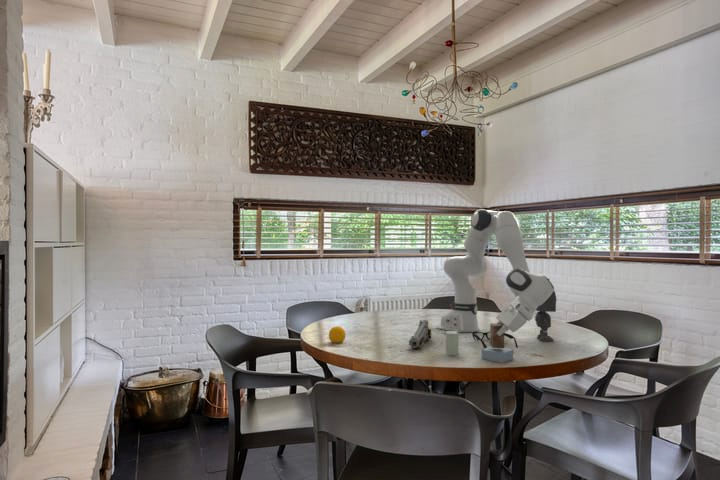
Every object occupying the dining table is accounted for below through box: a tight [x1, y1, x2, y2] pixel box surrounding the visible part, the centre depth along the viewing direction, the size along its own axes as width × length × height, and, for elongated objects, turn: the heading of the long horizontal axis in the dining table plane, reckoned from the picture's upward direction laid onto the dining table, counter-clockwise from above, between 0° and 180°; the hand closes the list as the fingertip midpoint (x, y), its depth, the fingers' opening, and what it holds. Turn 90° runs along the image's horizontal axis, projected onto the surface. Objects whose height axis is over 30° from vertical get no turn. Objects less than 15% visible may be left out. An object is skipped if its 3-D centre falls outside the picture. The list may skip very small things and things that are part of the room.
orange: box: [328, 326, 347, 344], centre depth 211 cm, size 8×8×8 cm
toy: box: [408, 319, 432, 350], centre depth 207 cm, size 6×24×10 cm, turn 160°
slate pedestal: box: [481, 345, 514, 364], centre depth 183 cm, size 9×9×4 cm
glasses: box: [471, 331, 519, 349], centre depth 208 cm, size 17×18×5 cm
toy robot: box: [534, 277, 557, 343], centre depth 216 cm, size 22×9×30 cm, turn 168°
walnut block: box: [489, 322, 505, 348], centre depth 183 cm, size 4×4×9 cm
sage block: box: [445, 330, 459, 356], centre depth 190 cm, size 4×4×9 cm
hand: (495, 332), depth 183 cm, fingers open, 5 cm apart
